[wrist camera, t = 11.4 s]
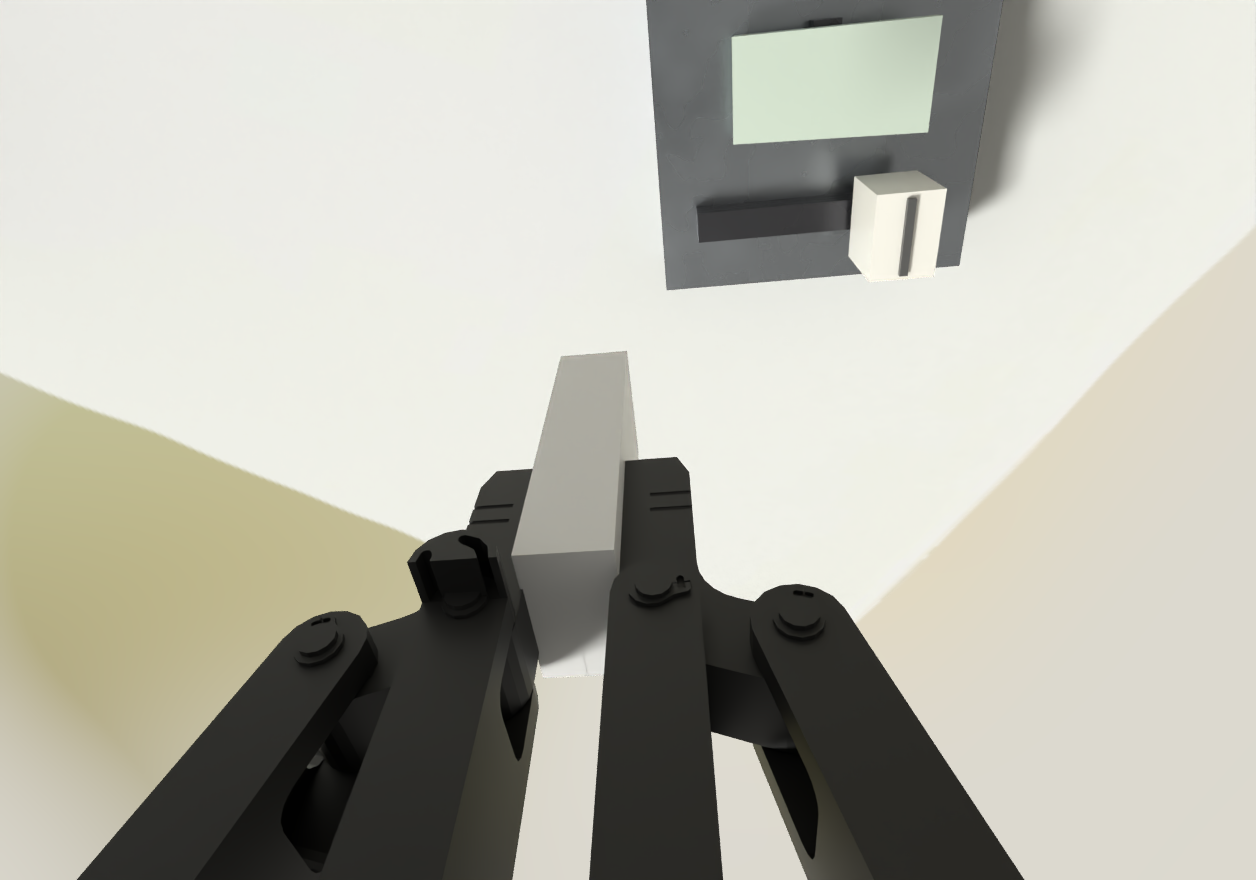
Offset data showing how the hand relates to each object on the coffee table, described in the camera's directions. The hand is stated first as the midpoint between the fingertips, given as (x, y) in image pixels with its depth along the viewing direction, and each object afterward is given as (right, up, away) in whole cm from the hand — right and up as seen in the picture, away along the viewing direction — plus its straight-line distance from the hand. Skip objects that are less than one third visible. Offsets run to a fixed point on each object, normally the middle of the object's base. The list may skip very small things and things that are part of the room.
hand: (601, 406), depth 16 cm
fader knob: (+11, +8, +12) cm, 18 cm away
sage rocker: (+8, +12, +9) cm, 17 cm away
